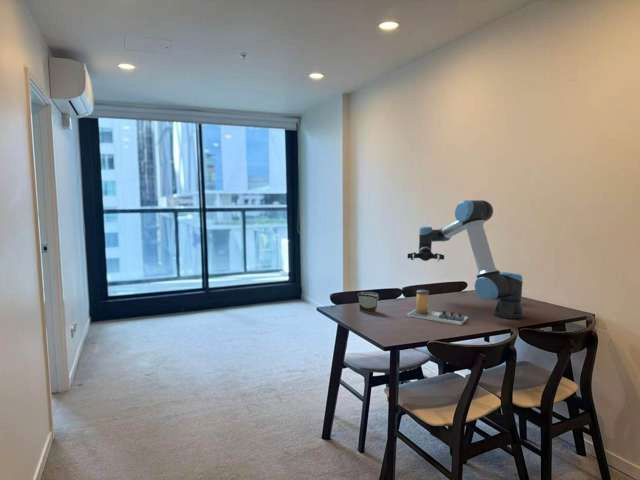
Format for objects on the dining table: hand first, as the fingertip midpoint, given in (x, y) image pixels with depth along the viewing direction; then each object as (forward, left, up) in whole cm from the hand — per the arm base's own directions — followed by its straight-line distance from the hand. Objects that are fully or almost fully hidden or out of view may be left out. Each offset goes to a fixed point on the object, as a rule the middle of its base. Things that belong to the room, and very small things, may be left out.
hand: (425, 258), depth 242 cm
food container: (+24, +20, -29) cm, 43 cm away
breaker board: (-11, +11, -29) cm, 33 cm away
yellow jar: (-3, +11, -27) cm, 30 cm away
